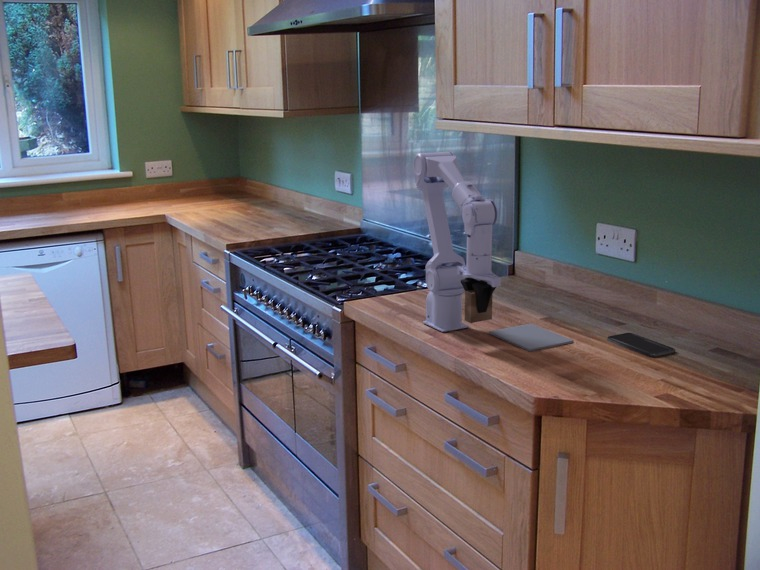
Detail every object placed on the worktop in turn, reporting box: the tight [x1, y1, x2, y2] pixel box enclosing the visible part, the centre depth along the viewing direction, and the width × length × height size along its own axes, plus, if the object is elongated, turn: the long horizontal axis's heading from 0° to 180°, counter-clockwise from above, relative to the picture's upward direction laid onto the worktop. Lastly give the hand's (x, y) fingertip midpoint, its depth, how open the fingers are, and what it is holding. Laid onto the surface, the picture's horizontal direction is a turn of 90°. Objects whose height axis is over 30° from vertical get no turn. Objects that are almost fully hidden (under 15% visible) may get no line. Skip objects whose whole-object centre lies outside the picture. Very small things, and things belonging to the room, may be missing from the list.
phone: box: [607, 332, 676, 359], centre depth 191 cm, size 8×1×15 cm
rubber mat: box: [487, 323, 574, 352], centre depth 198 cm, size 16×13×1 cm
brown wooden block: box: [464, 290, 494, 324], centre depth 191 cm, size 3×6×7 cm, turn 119°
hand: (478, 310), depth 192 cm, fingers closed on brown wooden block, 2 cm apart
